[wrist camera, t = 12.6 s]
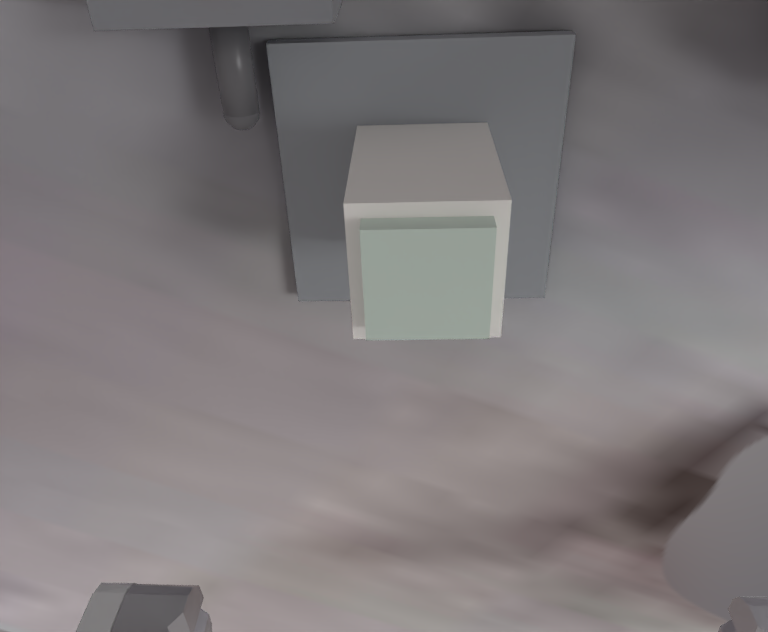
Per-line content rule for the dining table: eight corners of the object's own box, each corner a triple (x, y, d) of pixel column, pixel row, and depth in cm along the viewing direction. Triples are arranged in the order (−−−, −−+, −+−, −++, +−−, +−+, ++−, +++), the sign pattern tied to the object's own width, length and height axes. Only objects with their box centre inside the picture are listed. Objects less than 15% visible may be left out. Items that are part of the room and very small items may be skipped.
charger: (487, 122, 23) (515, 211, 17) (481, 238, 26) (503, 350, 20) (357, 125, 23) (340, 214, 17) (363, 241, 26) (351, 352, 20)
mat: (572, 30, 22) (575, 34, 21) (542, 289, 28) (544, 297, 27) (269, 39, 22) (266, 43, 22) (300, 293, 28) (298, 301, 27)
